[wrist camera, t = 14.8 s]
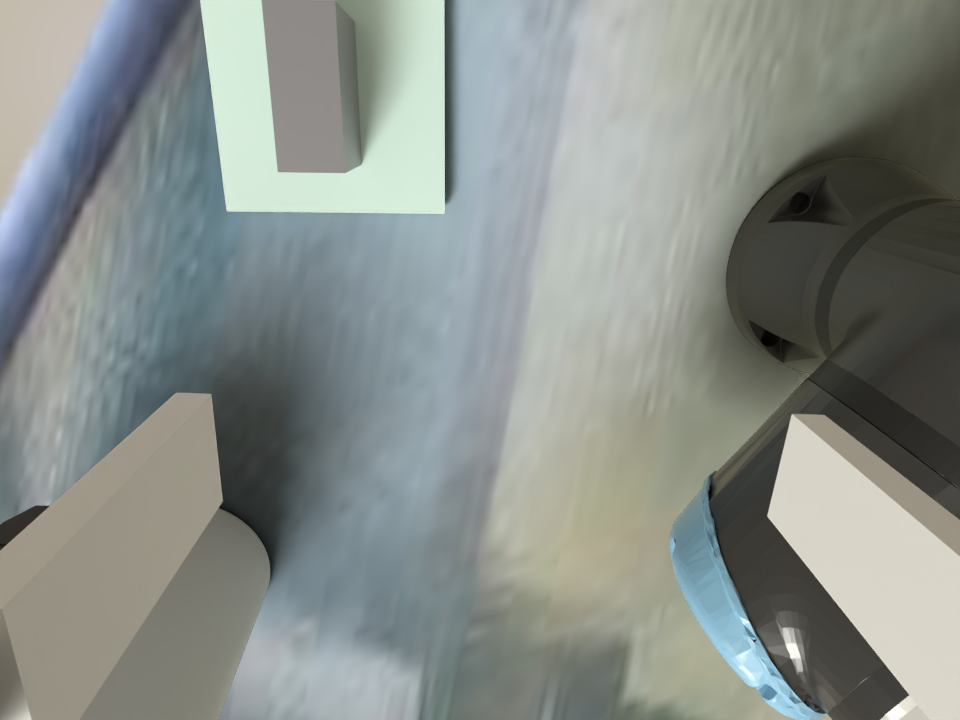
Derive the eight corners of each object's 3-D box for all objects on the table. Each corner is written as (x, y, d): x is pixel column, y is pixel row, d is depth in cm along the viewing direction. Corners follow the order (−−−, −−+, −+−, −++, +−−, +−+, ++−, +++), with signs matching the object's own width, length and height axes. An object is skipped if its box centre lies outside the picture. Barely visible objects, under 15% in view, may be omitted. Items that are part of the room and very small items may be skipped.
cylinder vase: (197, 469, 48) (-33, 792, 25) (304, 572, 53) (192, 932, 29) (83, 550, 51) (-225, 917, 27) (195, 643, 55) (9, 1031, 31)
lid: (444, -27, 38) (444, -69, 29) (444, 209, 43) (444, 231, 34) (207, -35, 37) (137, -80, 28) (236, 207, 42) (184, 228, 33)
